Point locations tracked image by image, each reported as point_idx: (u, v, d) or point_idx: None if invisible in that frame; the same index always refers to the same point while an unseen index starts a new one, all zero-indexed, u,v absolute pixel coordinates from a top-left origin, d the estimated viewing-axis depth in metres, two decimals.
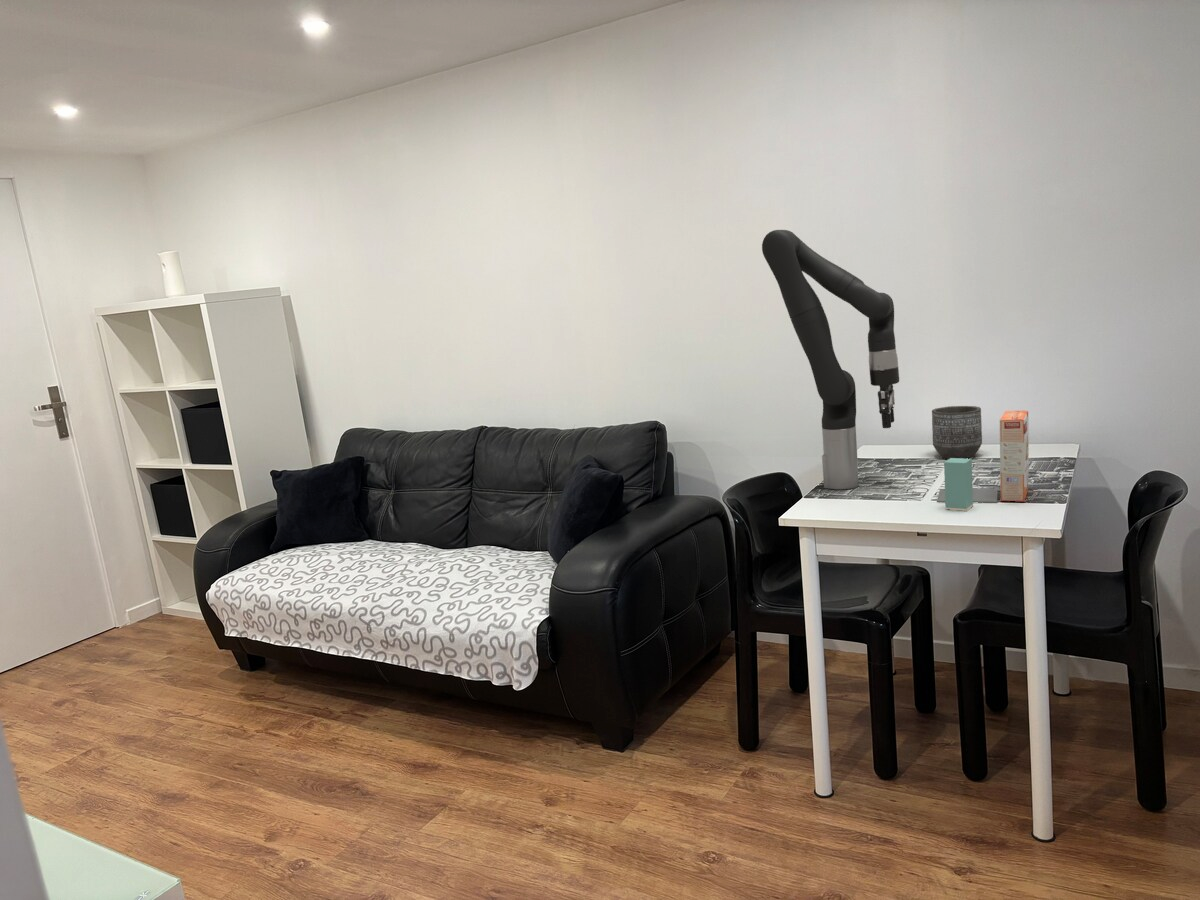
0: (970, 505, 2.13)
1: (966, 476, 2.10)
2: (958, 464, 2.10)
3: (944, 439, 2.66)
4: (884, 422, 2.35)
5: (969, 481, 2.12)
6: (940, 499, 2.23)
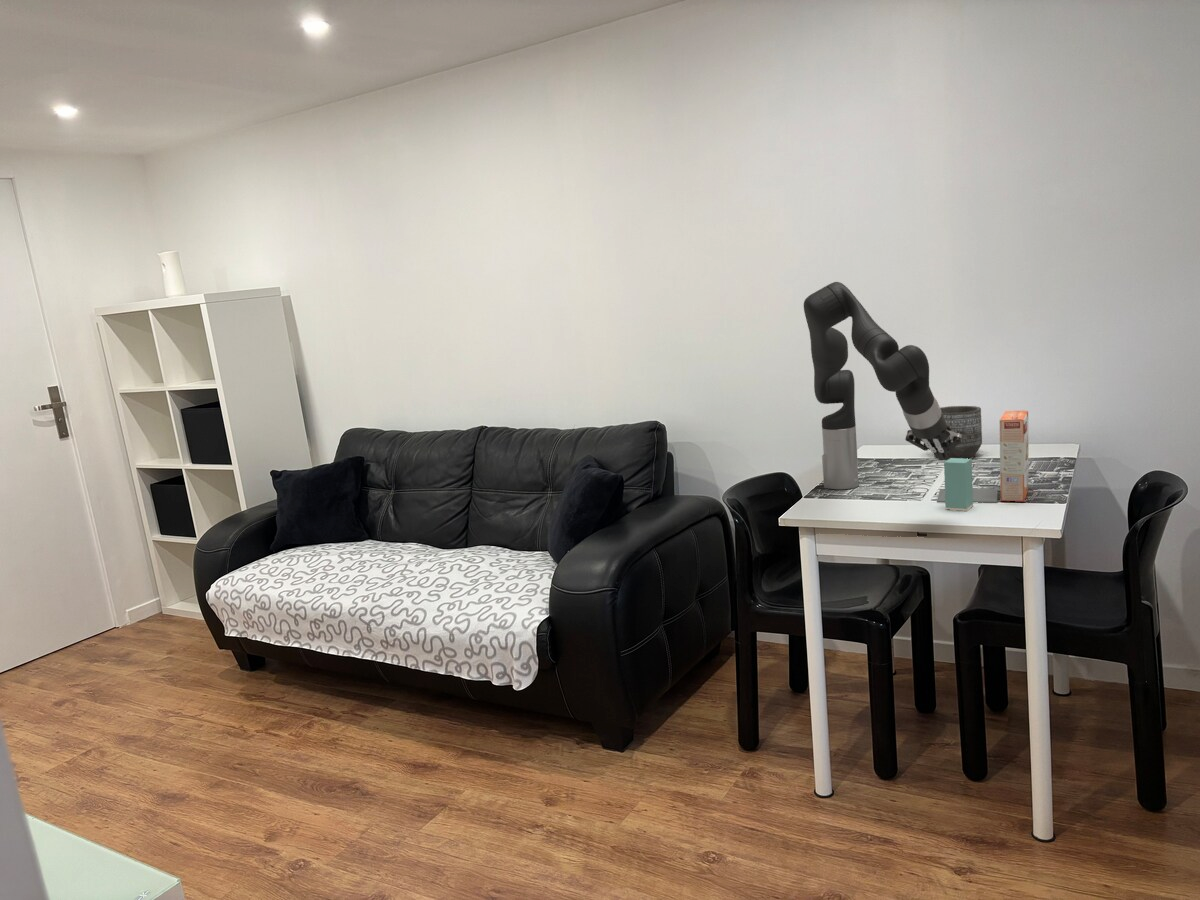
0: (970, 505, 2.13)
1: (966, 476, 2.10)
2: (958, 464, 2.10)
3: None
4: (946, 454, 2.02)
5: (969, 481, 2.12)
6: (940, 499, 2.23)
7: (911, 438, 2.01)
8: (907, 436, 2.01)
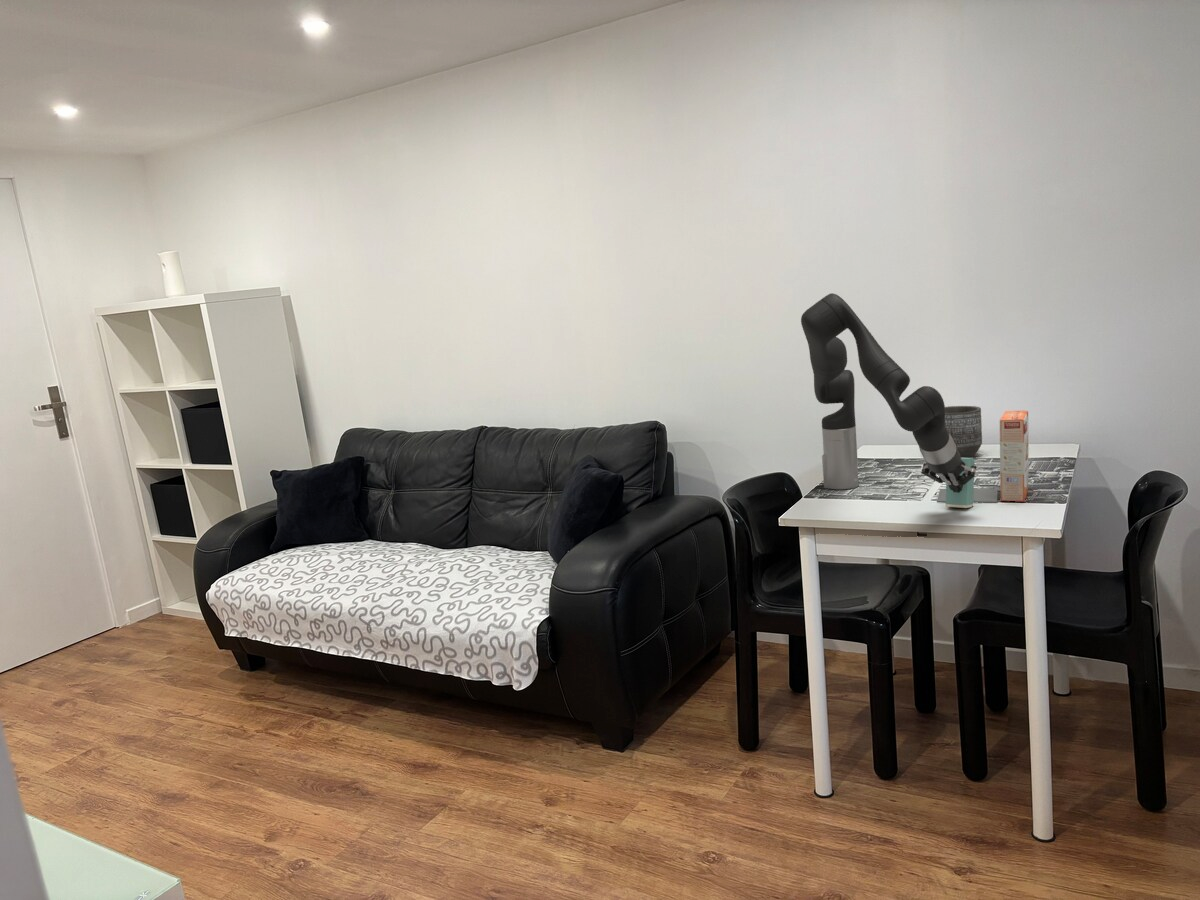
0: (971, 504, 2.14)
1: None
2: None
3: None
4: (961, 487, 2.10)
5: (971, 479, 2.13)
6: (940, 499, 2.23)
7: (927, 471, 2.09)
8: (923, 469, 2.09)
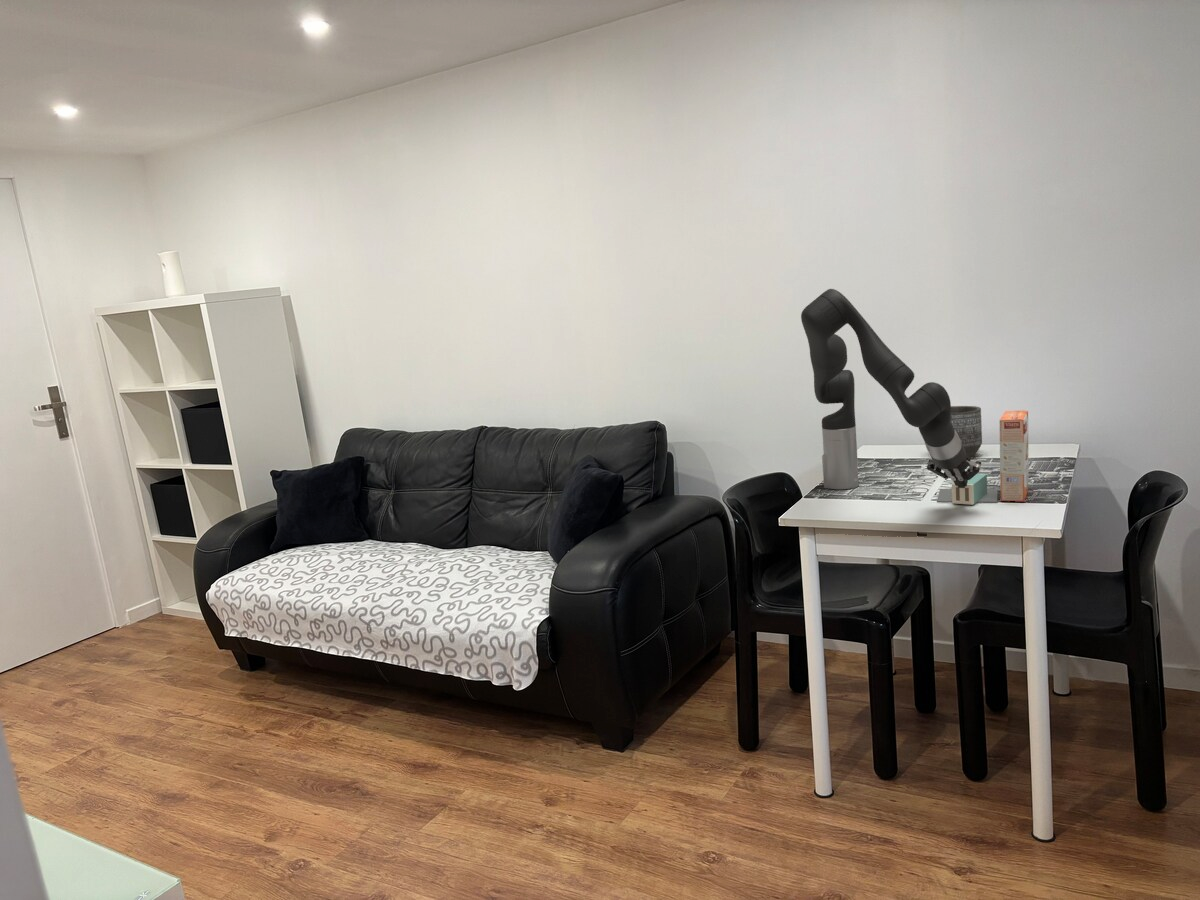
0: (973, 497, 2.15)
1: (982, 478, 2.20)
2: (979, 474, 2.24)
3: None
4: (966, 482, 2.13)
5: (981, 489, 2.20)
6: (940, 499, 2.23)
7: (932, 467, 2.12)
8: (928, 465, 2.13)
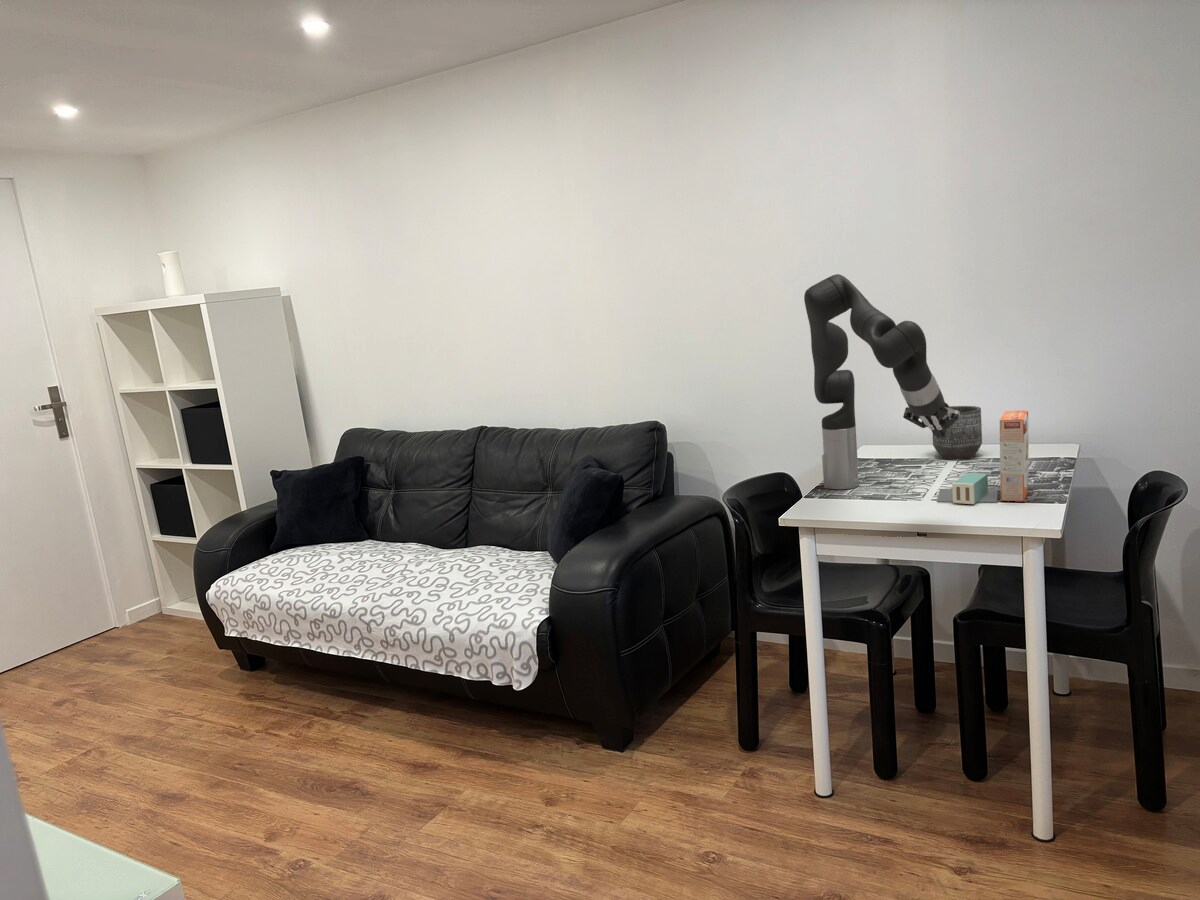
0: (974, 497, 2.15)
1: (983, 478, 2.21)
2: (980, 474, 2.24)
3: (944, 439, 2.66)
4: (945, 432, 2.01)
5: (981, 489, 2.20)
6: (940, 499, 2.23)
7: (909, 415, 2.00)
8: (905, 413, 2.00)
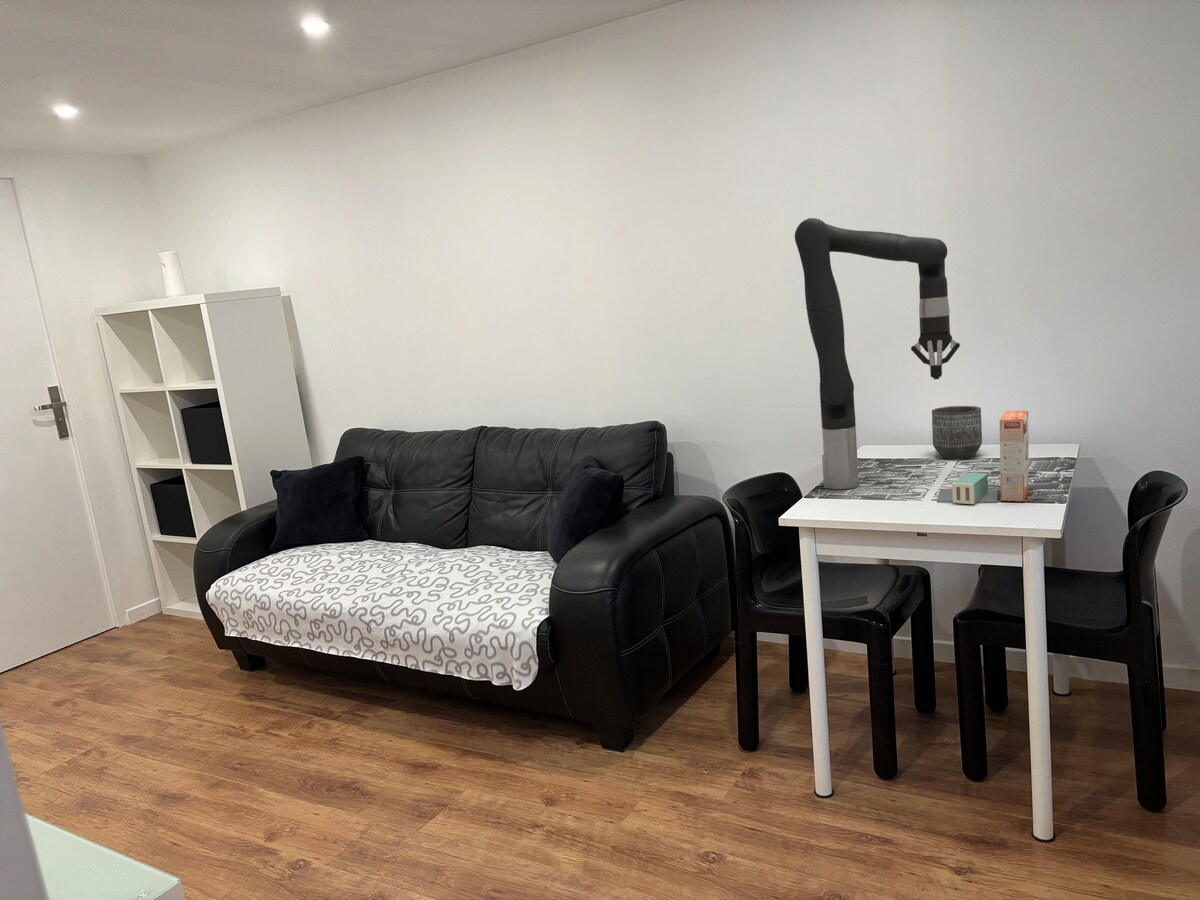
0: (974, 497, 2.15)
1: (983, 478, 2.21)
2: (980, 474, 2.24)
3: (944, 439, 2.66)
4: None
5: (981, 489, 2.20)
6: (940, 499, 2.23)
7: (916, 348, 2.36)
8: (913, 346, 2.36)
